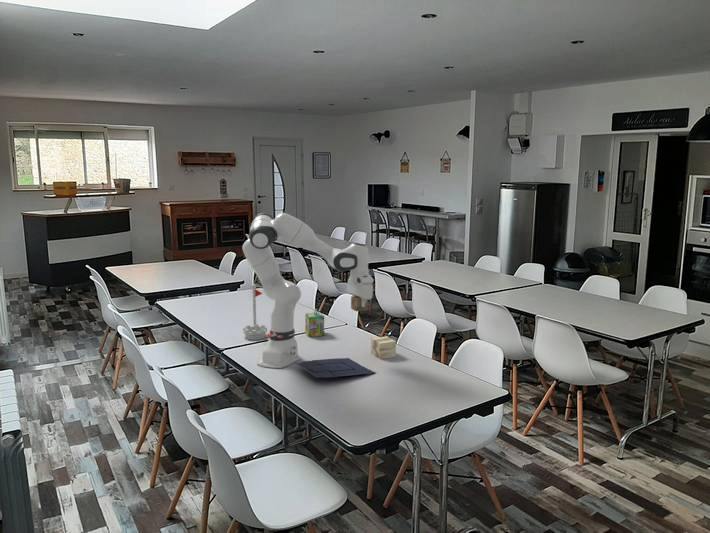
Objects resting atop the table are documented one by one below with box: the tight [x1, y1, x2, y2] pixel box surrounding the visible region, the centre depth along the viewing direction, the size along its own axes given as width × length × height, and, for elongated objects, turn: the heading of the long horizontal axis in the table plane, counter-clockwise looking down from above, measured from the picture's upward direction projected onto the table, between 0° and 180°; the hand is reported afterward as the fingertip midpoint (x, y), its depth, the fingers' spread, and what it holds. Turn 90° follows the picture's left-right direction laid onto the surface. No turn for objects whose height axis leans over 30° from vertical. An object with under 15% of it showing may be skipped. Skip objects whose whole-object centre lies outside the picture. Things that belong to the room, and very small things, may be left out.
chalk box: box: [304, 308, 325, 338], centre depth 297 cm, size 9×9×15 cm
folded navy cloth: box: [294, 357, 376, 379], centre depth 241 cm, size 24×30×4 cm
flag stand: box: [242, 283, 268, 340], centre depth 292 cm, size 13×13×30 cm
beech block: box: [370, 335, 397, 360], centre depth 264 cm, size 9×9×8 cm
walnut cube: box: [350, 295, 369, 312], centre depth 255 cm, size 6×6×6 cm
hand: (359, 305), depth 255 cm, fingers closed on walnut cube, 6 cm apart
